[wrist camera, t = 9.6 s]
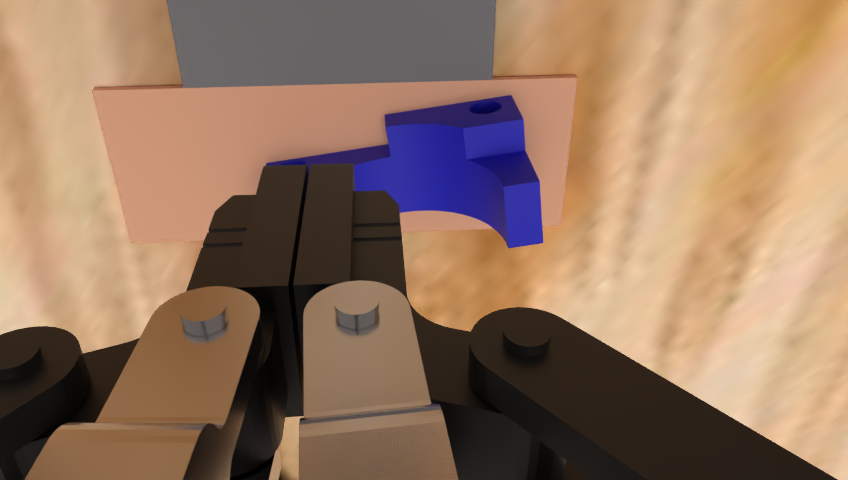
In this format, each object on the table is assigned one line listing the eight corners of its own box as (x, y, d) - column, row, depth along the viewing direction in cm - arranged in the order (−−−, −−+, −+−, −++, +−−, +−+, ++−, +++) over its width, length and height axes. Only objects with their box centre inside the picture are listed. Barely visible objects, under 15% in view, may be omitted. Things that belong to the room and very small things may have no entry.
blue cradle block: (511, 95, 33) (537, 147, 28) (517, 179, 36) (543, 243, 30) (258, 134, 33) (239, 193, 28) (281, 216, 36) (267, 284, 31)
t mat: (13, -232, 26) (8, -233, 25) (609, -233, 27) (612, -233, 27) (133, 239, 36) (131, 243, 36) (558, 222, 37) (560, 226, 37)
